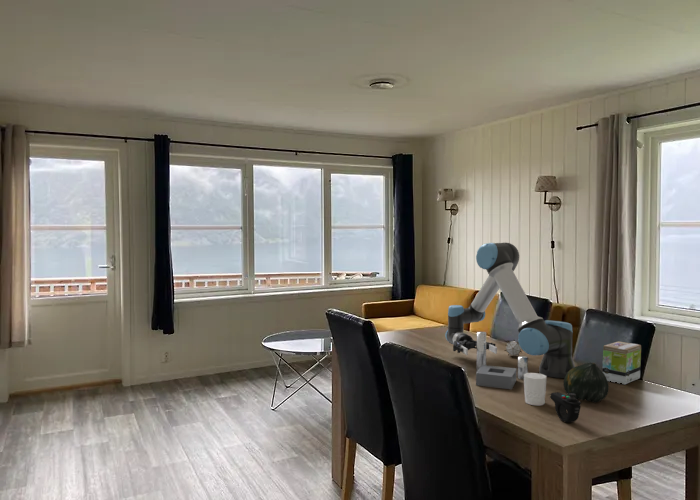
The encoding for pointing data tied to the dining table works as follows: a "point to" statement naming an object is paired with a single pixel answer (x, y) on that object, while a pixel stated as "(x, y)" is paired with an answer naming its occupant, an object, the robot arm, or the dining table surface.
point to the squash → (586, 383)
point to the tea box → (621, 362)
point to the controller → (566, 406)
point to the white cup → (535, 388)
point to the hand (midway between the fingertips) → (481, 351)
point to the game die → (513, 348)
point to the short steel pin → (522, 366)
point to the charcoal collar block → (496, 377)
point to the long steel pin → (481, 349)
